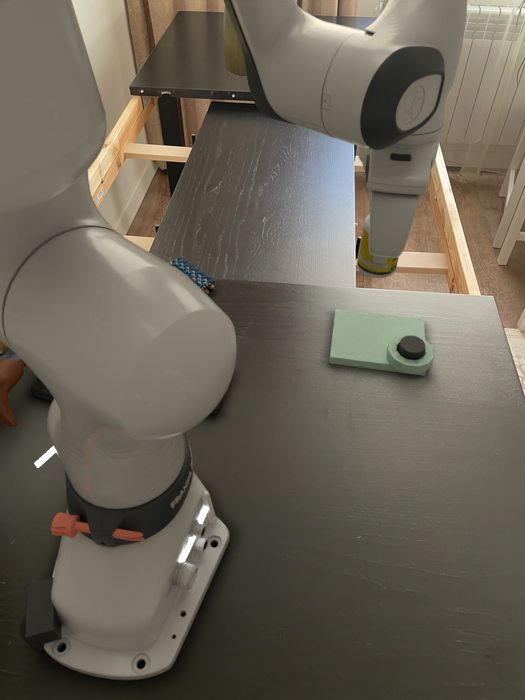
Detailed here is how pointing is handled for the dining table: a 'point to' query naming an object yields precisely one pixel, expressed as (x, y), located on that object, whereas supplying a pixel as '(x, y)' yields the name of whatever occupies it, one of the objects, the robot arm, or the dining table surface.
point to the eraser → (41, 391)
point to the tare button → (411, 347)
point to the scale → (377, 342)
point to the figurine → (9, 383)
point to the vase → (232, 48)
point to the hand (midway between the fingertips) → (379, 245)
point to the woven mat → (194, 274)
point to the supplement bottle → (365, 257)
